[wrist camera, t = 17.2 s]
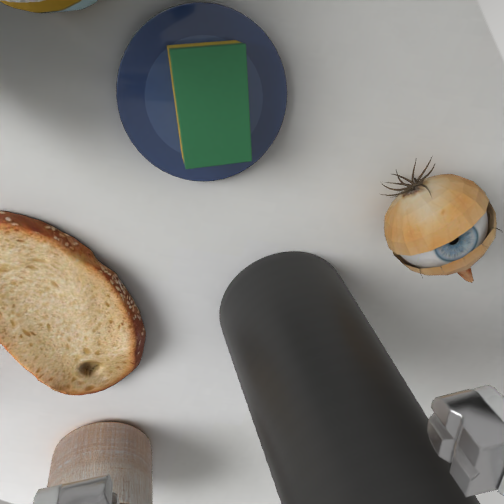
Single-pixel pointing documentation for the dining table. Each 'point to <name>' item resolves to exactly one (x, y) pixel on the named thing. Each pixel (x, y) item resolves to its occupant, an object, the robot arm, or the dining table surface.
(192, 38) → the plate
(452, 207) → the sculpture
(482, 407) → the robot arm
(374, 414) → the vase
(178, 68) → the sponge
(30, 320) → the slice of bread
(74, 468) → the planter
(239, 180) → the dining table surface
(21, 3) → the bottle
